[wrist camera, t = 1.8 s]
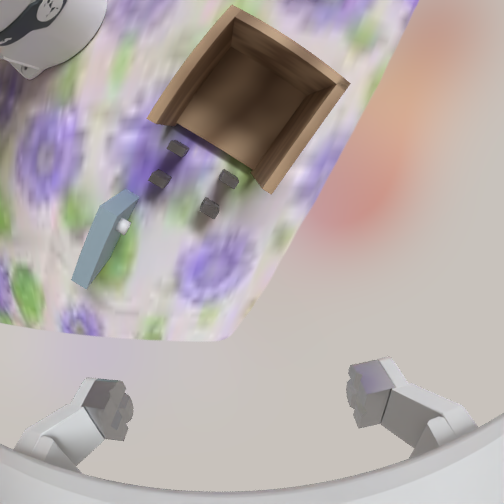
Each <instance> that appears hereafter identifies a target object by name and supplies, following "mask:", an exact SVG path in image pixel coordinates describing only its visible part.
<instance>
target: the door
mask: <svg viewBox="0 0 504 504" xmlns="http://www.w3.org/2000/svg"><path fill="white" fill-rule="evenodd" d="M138 199H139V196H137V195H135V194H133V193H132V192H130V191H128V190H127V189H125V190H123V191H122V192H120V193H119V194H117V195H116V196H114V197H112V198H111V199H109V200H108V201H107V202H105V203H104V204H102V205H101V206H100V207H99V209H98V212H97V214H96V216H95V219H94V221H93V223H92V226H91V228H90V231H89V233H88V235H87V238H86V241H85V243H84V246H83V248H82V251H81V254H80V256H79V259H78V262H77V265H76V268H75V271H74V273H73V276H72V279H71V280H72V281H74V282H75V283H77V284H79V285H80V286H82V287H83V288H85V289H87V288H88V287H89V285H90V284H91V283H92V281H93V280H94V279H95V277H96V276H97V275H98V273H99V272H100V271H101V269H102V268H103V267H104V265H105V264H106V263H107V261H108V260H109V259H110V257H111V255H112V253H113V250H114V248H115V246H116V244H117V242H118V240H119V237H120V235H121V234H123V235H125V234H126V232H127V230H128V229H129V227H130V225H131V222H129V221H128V219H129V217H130V215H131V213H132V211H133V209H134V207H135V205H136V203H137V201H138Z"/></svg>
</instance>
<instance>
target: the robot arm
mask: <svg viewBox="0 0 504 504" xmlns="http://www.w3.org/2000/svg"><path fill="white" fill-rule="evenodd" d="M106 8H107V0H0V59H4V60H6V61H8V62H9V63H10V64H11V65H12V66H13V67H14V68H15V69H16V70H17V71H18V72H19V73H20V74H21V75H22V76H23V77H24V78H26V79H29V80H31V79H33V78H35V77H36V76H38V75H39V74H40V73H41V72H42V71H44V70H45V69H47V68H49V67H52V66H55V65H58V64H60V63H63V62H65V61H66V60H68V59H70V58H71V57H73V56H74V55H75V54H77V53H78V52H79V51H80V50H81V49H83V48H84V47H85V46H86V45H87V44H88V42H89V41H90V40H91V39H92V38H93V36H94V35H95V34H96V32H97V31H98V29H99V27H100V25H101V23H102V21H103V19H104V16H105V13H106ZM27 67H28V68H27ZM26 68H27V70H26ZM348 374H349V376H350V378H351V379H350V380H349V381H348V382H347V388H346V391H347V399H348V402H349V405H350V407H352V408H354V409H355V410H354V418H355V420H356V423H357V426H358V428H362V427H367V426H372V425H376V424H380V423H381V425H382V426H384V427H385V428H387V429H388V430H389V431H391V432H392V433H394V434H395V435H396V436H398V437H399V438H400V439H402V440H403V441H405V442H406V443H407V444H409V445H410V446H412V447H413V448H415V449H414V451H413V452H412V454H411V456H410V457H409V459H407V460H404V461H401V462H399V463H395V464H393V465H389V466H386V467H383V468H380V469H377V470H373V471H369V472H366V473H362V474H358V475H355V476H350V477H346V478H342V479H337V480H332V481H327V482H322V483H316V484H310V485H304V486H297V487H289V488H282V489H281V488H280V489H271V490H258V491H238V492H202V491H182V490H170V489H160V488H151V487H144V486H137V485H131V484H125V483H120V482H115V481H109V480H105V479H101V478H96V477H92V476H88V475H85V474H82V473H81V472H80V470H79V469H78V468H77V467H76V466H77V465H78V464H79V463H80V462H81V461H82V460H83V459H84V458H86V457H87V456H88V455H89V454H90V453H91V452H92V451H93V450H94V449H95V448H96V447H97V446H99V445H100V444H101V443H102V442H103V441H104V439H111V440H119V441H124V439H125V436H126V433H127V430H128V427H127V425H126V423H127V422H129V421H130V420H131V419H132V416H133V404H132V400H131V398H130V397H129V396H128V395H127V394H126V393H125V389H126V387H125V386H124V384H123V382H122V381H118V380H107V379H94V378H86V379H84V381H83V383H82V385H81V386H80V388H79V390H78V391H77V393H76V395H75V396H74V398H73V400H72V402H71V403H70V405H68V404H66V405H65V406H63V407H62V408H60V409H58V410H56V411H55V412H54V413H52V414H50V415H48V416H47V417H45V418H43V419H42V420H40V421H38V422H37V423H35V424H33V425H32V426H30V427H28V428H27V429H25V431H24V433H23V434H22V436H21V438H20V440H19V441H18V443H17V445H16V447H15V448H14V450H13V449H11V448H8V447H6V446H4V445H2V444H0V504H504V413H503V414H501V415H499V416H498V417H496V418H495V419H493V420H491V421H489V422H488V423H486V424H484V425H482V426H480V427H479V428H478V426H477V425H476V423H475V422H474V420H473V419H472V417H471V416H470V415H469V413H468V412H467V410H466V409H465V408H464V406H463V405H461V404H458V403H456V402H454V401H452V400H449V399H447V398H444V397H442V396H440V395H438V394H436V393H433V392H431V391H429V390H427V389H424V388H422V387H420V386H418V385H416V384H413V383H411V384H409V383H408V382H407V380H406V379H405V377H404V376H403V374H402V373H401V371H400V370H399V368H398V367H397V365H396V364H395V362H394V361H393V359H392V358H391V357H384V358H380V359H377V360H372V361H368V362H363V363H359V364H354V365H350V368H349V373H348Z"/></svg>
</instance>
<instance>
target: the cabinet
mask: <svg viewBox="0 0 504 504" xmlns="http://www.w3.org/2000/svg"><path fill="white" fill-rule="evenodd" d="M350 84H351V83H349V82H348V81H347V80H346V79H345V78H343V77H342V76H341V75H340V74H338V73H337V72H336V71H335V70H333V69H332V68H331V67H329V66H328V65H327V64H325V63H324V62H323V61H321V60H320V59H319V58H317V57H316V56H315V55H313V54H312V53H311V52H309V51H308V50H306V49H305V48H303V47H302V46H301V45H299V44H298V43H296V42H295V41H293V40H292V39H290V38H289V37H287V36H285V35H284V34H282V33H281V32H279V31H278V30H276V29H274V28H273V27H271V26H269V25H268V24H266V23H264V22H263V21H261V20H259V19H257V18H256V17H254V16H252V15H250V14H249V13H247V12H245V11H243V10H241V9H239V8H237V7H235V6H233V5H231V6H230V7H229V8H228V9H227V11H226V12H225V13H224V14H223V15H222V16H221V17H220V18H219V20H218V21H217V22H216V23H215V24H214V25H213V27H212V28H211V29H210V30H209V31H208V33H207V34H206V35H205V36H204V37H203V39H202V40H201V41H200V42H199V44H198V45H197V46H196V48H195V49H194V50H193V51H192V53H191V54H190V55H189V57H188V58H187V59H186V61H185V62H184V63H183V65H182V66H181V67H180V69H179V70H178V72H177V73H176V74H175V76H174V77H173V79H172V80H171V82H170V83H169V85H168V86H167V88H166V89H165V90H164V92H163V93H162V95H161V97H160V98H159V100H158V101H157V103H156V104H155V106H154V107H153V109H152V111H151V112H150V114H149V115H148V117H147V119H148V120H150V121H152V122H154V123H155V124H161V125H168V126H176V124H179V125H181V126H183V127H184V128H186V129H188V130H189V131H191V132H193V133H194V134H196V135H198V136H200V137H201V138H203V139H205V140H206V141H208V142H209V143H211V144H213V145H214V146H216V147H218V148H219V149H221V150H223V151H224V152H226V153H227V154H229V155H231V156H232V157H234V158H235V159H237V160H238V161H240V162H242V163H243V164H245V165H246V166H248V167H249V168H251V169H252V171H251V172H250V173H251V174H252V175H253V177H254V178H255V179H256V181H257V182H258V184H259V185H260V186H261V188H262V189H264V190H265V191H267V192H268V193H270V194H272V193H273V192H274V190H275V189H276V187H277V186H278V184H279V183H280V182H281V180H282V179H283V177H284V176H285V174H286V173H287V172H288V170H289V169H290V167H291V166H292V165H293V163H294V162H295V160H296V159H297V157H298V156H299V155H300V153H301V152H302V150H303V149H304V148H305V146H306V145H307V143H308V142H309V141H310V139H311V138H312V136H313V135H314V134H315V132H316V131H317V129H318V128H319V127H320V125H321V124H322V122H323V121H324V120H325V118H326V117H327V115H328V114H329V113H330V111H331V110H332V109H333V107H334V106H335V104H336V103H337V102H338V100H339V99H340V97H341V96H342V95H343V93H344V92H345V91H346V89H347V88H348V86H349V85H350ZM167 149H168V150H170V151H172V152H173V153H175V154H177V155H178V156H180V157H183V156H184V155H186V153H187V151H188V150H189V148H188V147H187V146H185V145H183V144H182V143H180V142H178V141H177V140H173V141H171V142H170V144H169V145H168V147H167ZM171 178H172V177H171V176H169V175H168V174H166V173H164V172H163V171H161V170H159V169H158V170H156V171H154V172H153V173H152V174H151V176H150V178H149V180H148V181H150V182H152V183H153V184H155V185H157V186H159V187H160V188H162V189H163V188H164V187H165V186H166V185H167V184H168V183H169V181H170V179H171ZM219 180H220V181H222V182H223V183H225V184H226V185H228V186H230V187H231V188H233V189H235V187H236V186H237V184H238V183H239V180H238V178H237V177H236V176H234V175H233V174H231V173H229V172H228V171H226V170H225V169H224V170H223V171H222V173H221V174H220V176H219ZM200 211H201V212H203V213H204V214H206V215H208V216H209V217H211V218H213V219H215V218H216V216H217V215H218V213H219V205H218V204H216V203H215V202H213V201H211V200H210V199H208V198H206V197H205V199H204V201H203V202H202V204H201V208H200Z"/></svg>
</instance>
